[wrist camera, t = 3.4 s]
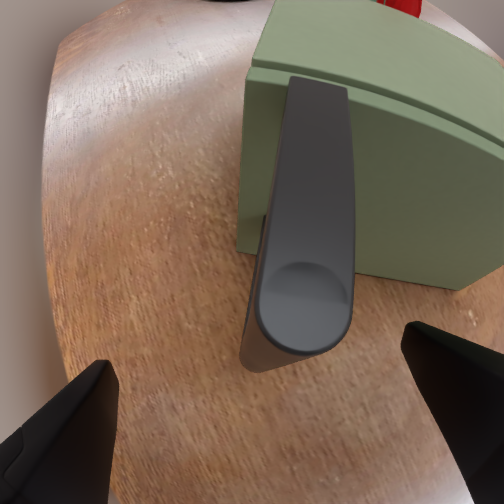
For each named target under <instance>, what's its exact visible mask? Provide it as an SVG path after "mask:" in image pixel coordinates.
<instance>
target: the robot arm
mask: <svg viewBox="0 0 504 504" xmlns="http://www.w3.org/2000/svg"><path fill="white" fill-rule="evenodd" d="M401 350H402V353H403V355H404V357H405V360H406V362H407V364H408V366H409V369H410V371H411V373H412V376H413V378H414V381H415V383H416V385H417V387H418V389H419V391H420V393H421V395H422V396H423V398H424V400H425V402H426V404H427V406H428V407H429V409H430V411H431V413H432V415H433V417H434V419H435V421H436V423H437V425H438V426H439V428H440V430H441V432H442V434H443V436H444V438H445V440H446V442H447V444H448V446H449V448H450V450H451V452H452V455H453V457H454V459H455V461H456V463H457V465H458V467H459V469H460V471H461V474H462V476H463V478H464V480H465V483H466V485H467V487H468V490H469V492H470V494H471V497H472V499H473V501H474V504H504V354H501V353H499V352H496V351H494V350H491V349H489V348H486V347H483V346H481V345H478V344H476V343H473V342H471V341H468V340H466V339H463V338H461V337H458V336H456V335H453V334H451V333H448V332H445V331H443V330H440V329H438V328H435V327H433V326H430V325H428V324H425V323H423V322H420V321H414V322H410V323H408V324H407V325H406V326H405V329H404V333H403V337H402V341H401ZM118 397H119V382H118V378H117V376H116V374H115V371H114V369H113V366H112V364H111V362H110V361H109V360H95V361H94V362H93V363H92V364H91V365H89V366H88V367H87V368H86V369H85V370H84V371H83V372H81V373H80V374H79V375H78V376H77V377H76V378H75V379H73V380H72V381H71V382H70V383H69V384H68V385H67V386H65V387H64V388H63V389H62V390H61V391H60V392H59V393H58V394H56V395H55V396H54V397H53V398H52V399H51V400H50V401H48V403H46V404H45V405H44V406H43V407H42V408H41V409H39V410H38V411H37V412H36V413H35V414H34V415H33V416H32V417H31V418H29V419H28V420H27V421H26V422H25V423H24V424H23V425H22V427H19V428H18V429H17V430H16V431H15V432H14V433H13V434H12V435H10V436H9V437H8V438H7V439H6V440H5V441H3V442H2V443H1V444H0V504H108V494H109V484H110V475H111V467H112V459H113V452H114V445H115V439H116V431H117V414H118Z"/></svg>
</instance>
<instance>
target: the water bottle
mask: <svg viewBox="0 0 504 504" xmlns="http://www.w3.org/2000/svg"><path fill="white" fill-rule="evenodd" d="M376 2H377V3H379V4H382V5H383V4H384V0H376ZM421 5H422V0H385V6H388V7H391V8H394V9H396V10H399V11H402V12H404V13H407V14H409V15H412V16H414V17H416V18H419V16H420V13H421Z"/></svg>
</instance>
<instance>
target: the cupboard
mask: <svg viewBox="0 0 504 504" xmlns="http://www.w3.org/2000/svg"><path fill="white" fill-rule="evenodd" d="M251 67H259V68H266V69H272V70H279V71H284V72H290V73H295V74H301V75H306V76H310V77H315V78H320V79H324V80H328V81H332V82H337V83H340V84H344V85H348V86H352V87H355V88H359V89H362V90H366V91H369V92H373V93H376V94H379V95H382V96H385V97H388V98H391V99H394V100H397V101H400V102H403V103H405V104H408V105H411V106H414V107H416V108H419V109H421V110H424V111H427V112H429V113H431V114H434V115H436V116H439V117H441V118H443V119H446V120H448V121H450V122H452V123H455V124H457V125H459V126H461V127H463V128H465V129H467V130H469V131H472V132H474V133H476V134H478V135H480V136H481V137H483V138H485V139H487V140H489V141H491V142H493V143H495V144H497V145H498V146H500V147H502V148H504V68H503V67H502V66H501V65H500V63H499V62H498V61H497V60H495V59H494V58H492V57H490V56H489V55H487V54H486V53H484V52H482V51H481V50H479V49H478V48H476V47H474V46H472V45H471V44H469V43H467V42H465V41H464V40H462V39H460V38H458V37H456V36H454V35H452V34H450V33H448V32H447V31H445V30H443V29H440V28H438V27H436V26H434V25H432V24H430V23H428V22H425V21H423V20H421V19H419V18H416V17H414V16H412V15H409V14H407V13H404V12H402V11H399V10H396V9H394V8H391V7H388V6H385V5H382V4H379V3H376V2H373V1H370V0H276V1H275V3H274V5H273V8H272V10H271V12H270V15H269V17H268V19H267V22H266V24H265V27H264V29H263V32H262V34H261V37H260V39H259V42H258V44H257V47H256V49H255V52H254V55H253V57H252V64H251Z"/></svg>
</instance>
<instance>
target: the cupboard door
mask: <svg viewBox="0 0 504 504" xmlns="http://www.w3.org/2000/svg"><path fill="white" fill-rule="evenodd" d="M236 251H237V252H242V253H248V254H253V255H257V256H256V261H255V267H254V273H253V279H252V284H251V290H250V296H249V301H248V307H247V313H246V318H245V324H244V330H243V335H242V341H241V347H240V352H239V357H240V361H241V363H242V365H243V366H244V367H245V368H246V369H247V370H249V371H251V372H255V373H261V372H265V371H268V370H272V369H275V368H279V367H282V366H286V365H289V364H292V363H295V362H298V361H302V360H305V359H308V358H311V357H314V356H317V355H320V354H323V353H325V352H327V351H329V350H331V349H332V348H334V347H335V346H336V345H337V344H338V343H339V342H340V341H341V340H342V339H343V338H344V336H345V335H346V333H347V331H348V329H349V327H350V324H351V320H352V314H353V300H354V280H355V273H361V274H367V275H372V276H378V277H384V278H389V279H395V280H401V281H407V282H412V283H418V284H424V285H429V286H435V287H441V288H447V289H452V290H458V291H459V290H461V289H463V288H465V287H466V286H468V285H470V284H472V283H474V282H475V281H477V280H479V279H481V278H482V277H484V276H486V275H487V274H489V273H491V272H493V271H494V270H496V269H497V268H499V267H501V266H502V265H504V148H502V147H500V146H498V145H497V144H495V143H493V142H491V141H489V140H487V139H485V138H483V137H481V136H480V135H478V134H476V133H474V132H472V131H469V130H467V129H465V128H463V127H461V126H459V125H457V124H455V123H452V122H450V121H448V120H446V119H443V118H441V117H439V116H436V115H434V114H431V113H429V112H427V111H424V110H421V109H419V108H416V107H414V106H411V105H408V104H405V103H403V102H400V101H397V100H394V99H391V98H388V97H385V96H382V95H379V94H376V93H373V92H369V91H366V90H362V89H359V88H355V87H352V86H348V85H344V84H340V83H337V82H332V81H328V80H324V79H320V78H315V77H310V76H306V75H301V74H295V73H290V72H284V71H279V70H272V69H266V68H259V67H250V68H249V71H248V74H247V76H246V79H245V93H244V109H243V126H242V143H241V162H240V181H239V201H238V222H237V244H236Z"/></svg>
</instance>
